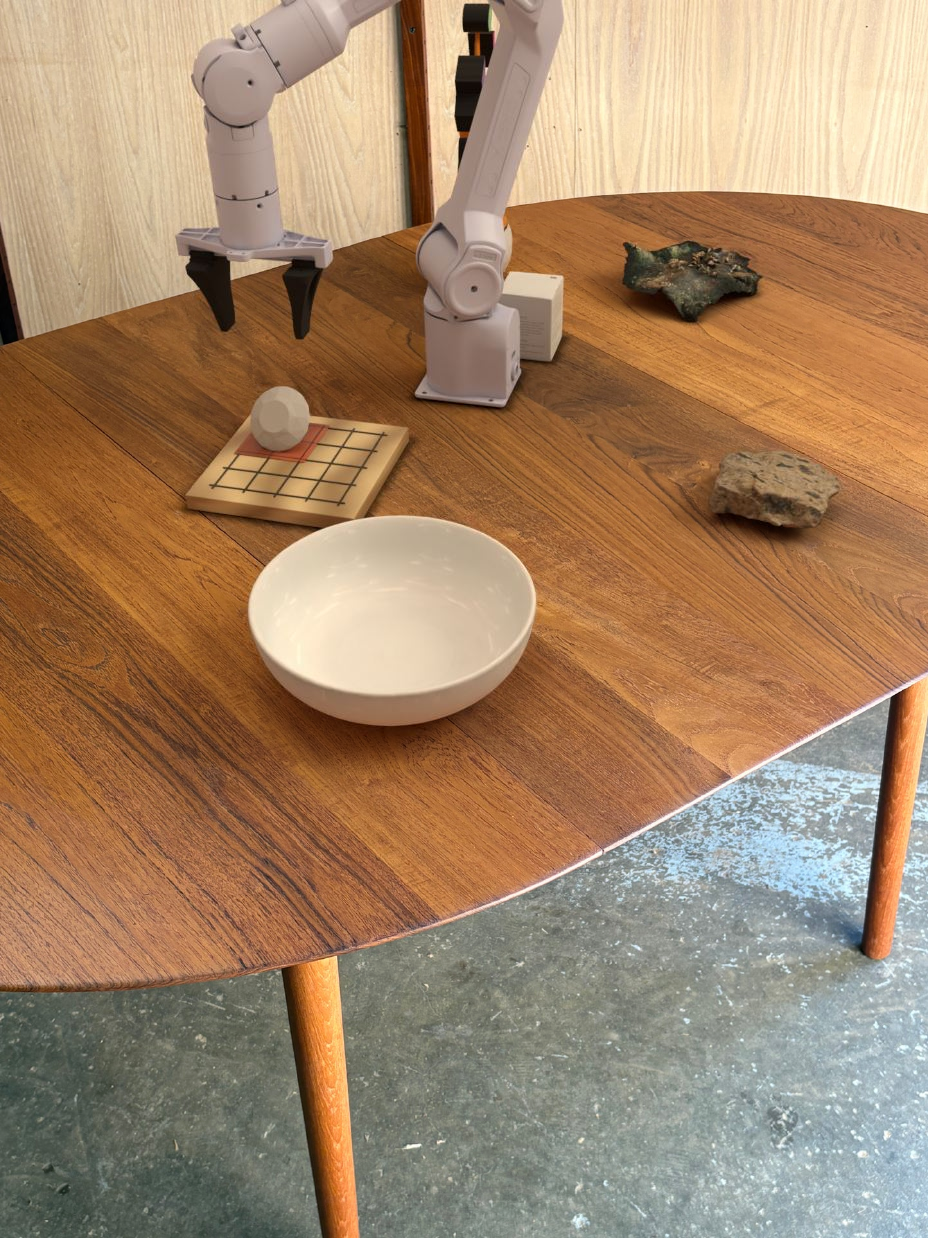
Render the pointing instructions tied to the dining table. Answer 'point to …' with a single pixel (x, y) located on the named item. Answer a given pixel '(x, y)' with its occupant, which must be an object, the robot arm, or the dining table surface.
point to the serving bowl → (392, 618)
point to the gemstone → (280, 418)
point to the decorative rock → (688, 274)
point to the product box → (536, 311)
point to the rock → (773, 488)
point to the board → (302, 474)
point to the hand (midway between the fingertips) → (265, 331)
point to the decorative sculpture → (475, 82)
